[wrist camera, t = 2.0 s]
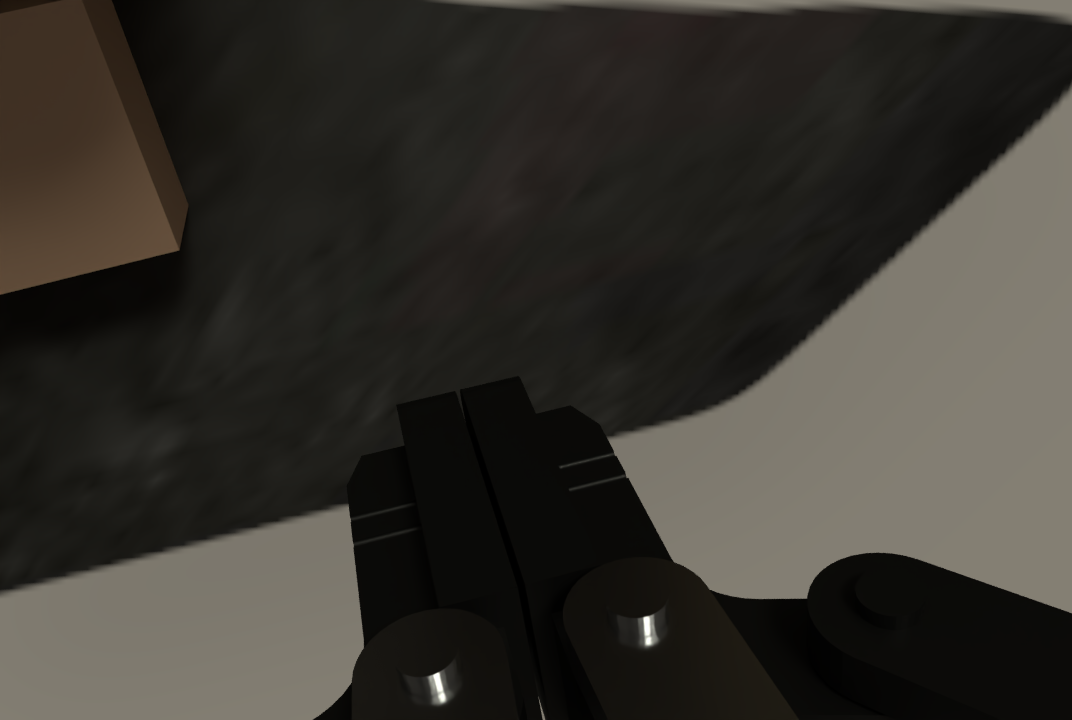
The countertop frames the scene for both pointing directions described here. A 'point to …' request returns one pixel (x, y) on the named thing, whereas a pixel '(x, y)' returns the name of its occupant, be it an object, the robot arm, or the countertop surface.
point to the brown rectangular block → (78, 147)
